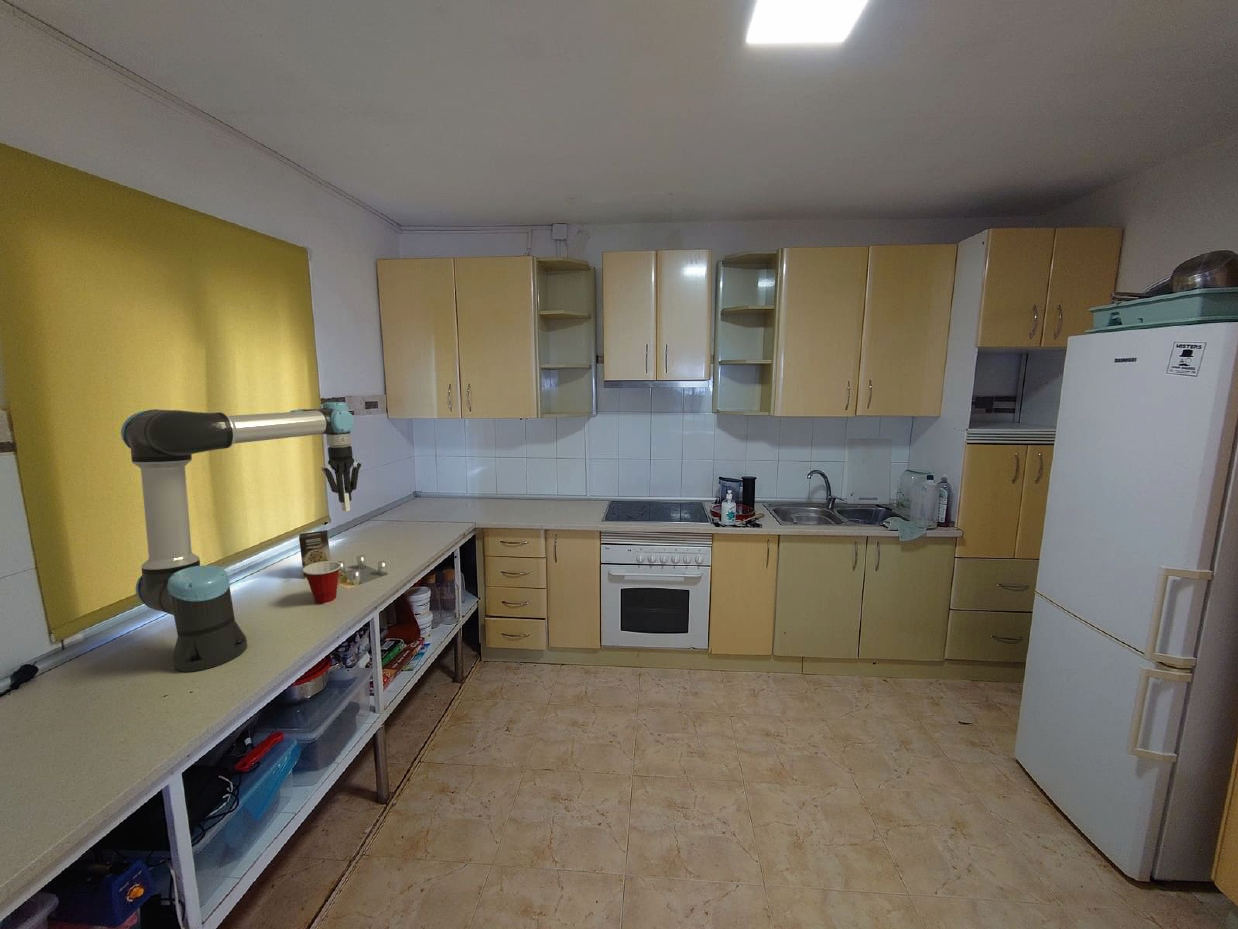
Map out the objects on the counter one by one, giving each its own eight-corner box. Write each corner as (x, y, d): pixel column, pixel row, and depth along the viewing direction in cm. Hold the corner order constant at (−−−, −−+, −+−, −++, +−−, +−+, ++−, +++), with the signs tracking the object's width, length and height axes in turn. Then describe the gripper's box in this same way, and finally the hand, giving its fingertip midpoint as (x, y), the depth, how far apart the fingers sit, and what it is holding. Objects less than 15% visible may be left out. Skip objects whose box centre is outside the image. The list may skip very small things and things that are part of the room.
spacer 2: (355, 587, 171) (353, 573, 171) (350, 585, 173) (349, 572, 172) (362, 584, 174) (361, 571, 173) (358, 582, 175) (357, 569, 174)
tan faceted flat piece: (336, 585, 172) (335, 578, 172) (330, 582, 175) (329, 576, 174) (350, 580, 176) (349, 574, 176) (344, 578, 179) (343, 571, 178)
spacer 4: (381, 577, 180) (380, 564, 179) (377, 575, 181) (376, 562, 180) (388, 574, 182) (387, 561, 181) (384, 573, 184) (383, 560, 183)
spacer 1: (339, 577, 181) (337, 564, 180) (335, 575, 182) (334, 562, 181) (347, 574, 183) (345, 562, 182) (343, 573, 184) (341, 560, 184)
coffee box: (303, 580, 178) (297, 538, 176) (304, 574, 184) (298, 533, 181) (332, 575, 183) (327, 533, 180) (332, 569, 188) (327, 529, 186)
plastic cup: (335, 607, 157) (331, 571, 154) (300, 609, 156) (295, 573, 154) (351, 592, 167) (347, 559, 165) (318, 594, 166) (313, 560, 164)
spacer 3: (360, 570, 186) (359, 558, 185) (356, 569, 188) (355, 556, 187) (367, 568, 189) (366, 556, 188) (363, 567, 190) (362, 554, 189)
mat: (347, 590, 169) (347, 588, 169) (324, 579, 179) (323, 578, 179) (388, 575, 181) (388, 574, 181) (364, 566, 191) (364, 565, 191)
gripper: (325, 448, 166) (332, 515, 170) (363, 444, 177) (369, 508, 180) (315, 447, 170) (322, 512, 174) (353, 443, 181) (359, 505, 185)
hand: (346, 510), depth 177 cm, fingers closed
